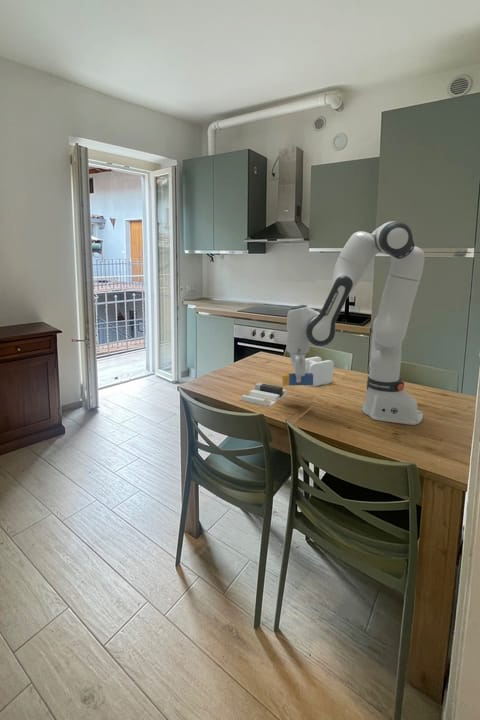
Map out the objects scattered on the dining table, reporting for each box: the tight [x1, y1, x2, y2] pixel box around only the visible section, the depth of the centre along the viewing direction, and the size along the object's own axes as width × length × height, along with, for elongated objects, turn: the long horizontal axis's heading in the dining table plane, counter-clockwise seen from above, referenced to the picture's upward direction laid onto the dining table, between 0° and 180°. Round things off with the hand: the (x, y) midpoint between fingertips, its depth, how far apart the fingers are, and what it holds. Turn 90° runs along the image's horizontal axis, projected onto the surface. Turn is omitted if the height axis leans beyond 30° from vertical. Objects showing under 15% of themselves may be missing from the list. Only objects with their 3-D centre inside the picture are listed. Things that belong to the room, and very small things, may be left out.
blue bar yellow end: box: [281, 373, 313, 387], centre depth 162 cm, size 12×3×4 cm, turn 88°
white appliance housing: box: [241, 389, 287, 407], centre depth 173 cm, size 13×16×3 cm
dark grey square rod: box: [254, 382, 284, 398], centre depth 176 cm, size 12×3×4 cm, turn 59°
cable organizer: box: [305, 356, 335, 388], centre depth 194 cm, size 15×11×12 cm
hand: (297, 380), depth 162 cm, fingers closed on blue bar yellow end, 3 cm apart
